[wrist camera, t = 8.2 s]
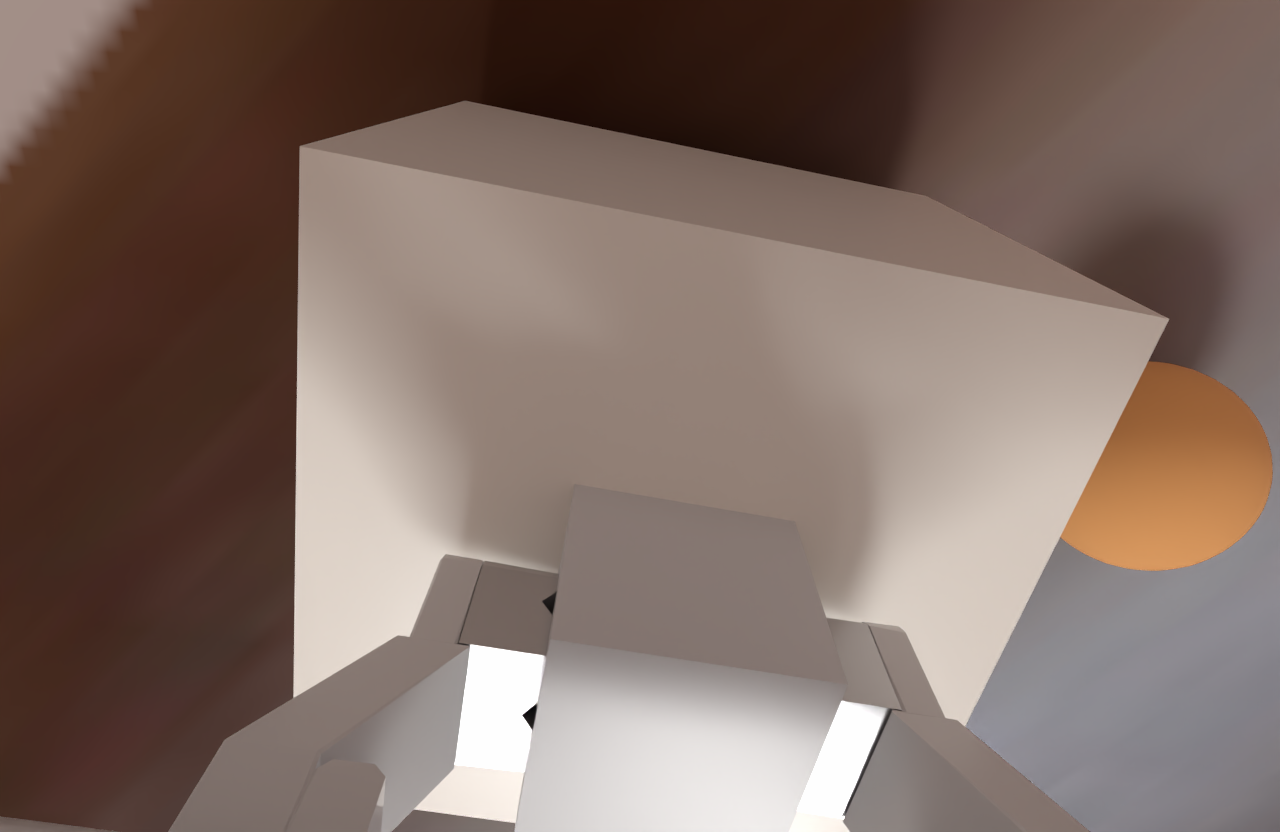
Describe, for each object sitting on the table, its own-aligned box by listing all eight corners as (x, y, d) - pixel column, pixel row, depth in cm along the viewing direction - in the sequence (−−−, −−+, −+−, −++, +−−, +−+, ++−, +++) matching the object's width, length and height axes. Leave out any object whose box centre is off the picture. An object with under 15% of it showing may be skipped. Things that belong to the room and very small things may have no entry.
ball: (1217, 352, 20) (1383, 439, 16) (1129, 513, 22) (1253, 631, 18) (1036, 316, 20) (1154, 395, 15) (964, 483, 22) (1048, 596, 17)
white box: (926, 196, 17) (1385, 427, 7) (798, 569, 22) (953, 1079, 11) (464, 100, 16) (139, 190, 6) (426, 507, 21) (197, 993, 10)
